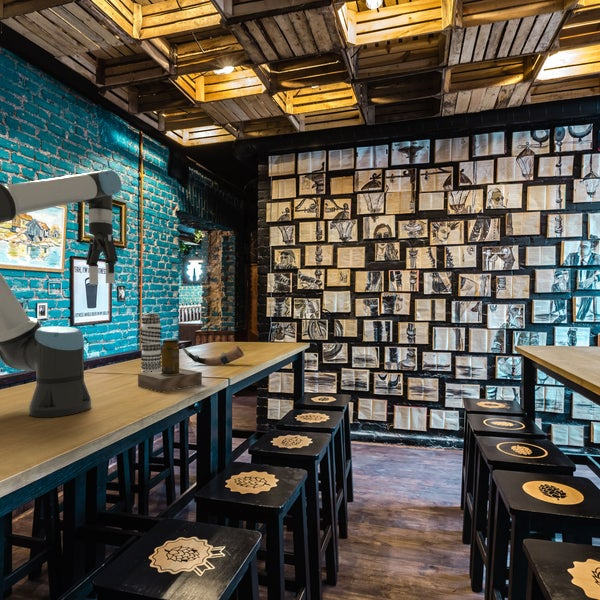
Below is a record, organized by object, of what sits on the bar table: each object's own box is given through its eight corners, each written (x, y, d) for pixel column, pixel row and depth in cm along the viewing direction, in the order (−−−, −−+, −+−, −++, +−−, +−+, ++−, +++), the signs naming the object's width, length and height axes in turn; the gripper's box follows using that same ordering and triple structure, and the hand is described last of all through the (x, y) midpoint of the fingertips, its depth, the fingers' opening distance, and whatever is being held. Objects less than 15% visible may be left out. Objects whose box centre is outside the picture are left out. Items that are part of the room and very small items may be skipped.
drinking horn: (243, 365, 191) (243, 344, 191) (178, 366, 191) (178, 344, 191) (244, 363, 197) (244, 342, 197) (182, 364, 197) (181, 343, 197)
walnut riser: (161, 394, 138) (161, 379, 138) (138, 387, 149) (138, 373, 149) (201, 386, 150) (201, 372, 150) (177, 380, 161) (177, 367, 161)
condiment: (176, 370, 154) (176, 338, 154) (185, 373, 147) (184, 339, 147) (156, 373, 149) (156, 339, 149) (165, 376, 142) (164, 341, 143)
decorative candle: (166, 368, 186) (165, 312, 186) (156, 372, 177) (155, 313, 177) (147, 368, 187) (146, 313, 187) (136, 371, 178) (135, 313, 178)
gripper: (127, 219, 139) (128, 282, 140) (97, 228, 156) (98, 285, 156) (105, 216, 134) (106, 282, 134) (75, 226, 150) (76, 284, 151)
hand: (101, 283), depth 145 cm, fingers open, 13 cm apart
